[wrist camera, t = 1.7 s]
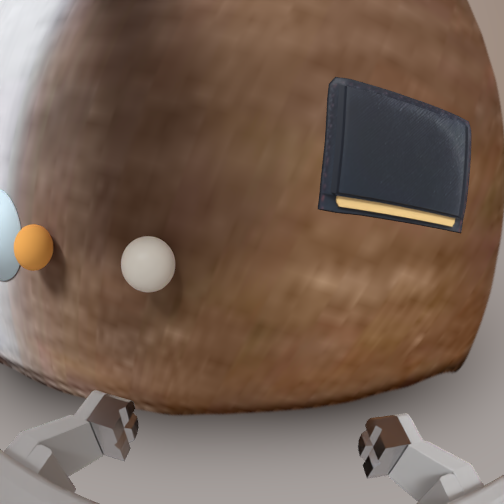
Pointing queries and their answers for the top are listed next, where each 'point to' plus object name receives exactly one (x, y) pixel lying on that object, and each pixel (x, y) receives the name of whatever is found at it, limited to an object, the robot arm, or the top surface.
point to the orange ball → (33, 247)
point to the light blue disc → (8, 237)
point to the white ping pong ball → (148, 264)
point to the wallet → (393, 157)
